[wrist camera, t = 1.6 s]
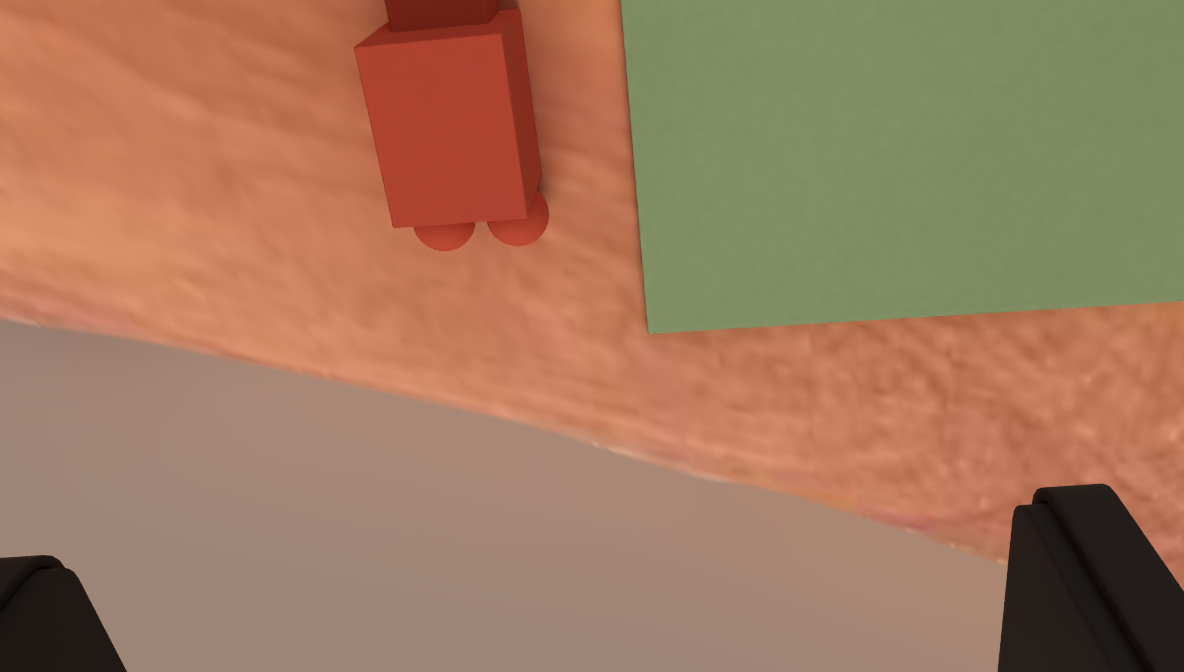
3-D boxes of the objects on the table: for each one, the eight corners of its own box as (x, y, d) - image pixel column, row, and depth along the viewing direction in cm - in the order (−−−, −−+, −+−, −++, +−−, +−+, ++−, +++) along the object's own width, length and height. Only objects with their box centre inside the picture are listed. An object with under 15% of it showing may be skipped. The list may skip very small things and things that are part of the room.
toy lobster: (363, -73, 27) (322, -58, 24) (514, -89, 26) (493, -76, 23) (425, 239, 32) (399, 287, 28) (555, 229, 31) (543, 278, 28)
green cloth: (608, -152, 26) (607, -151, 25) (1396, -241, 24) (1404, -242, 23) (648, 329, 33) (647, 334, 32) (1256, 292, 31) (1261, 296, 30)
